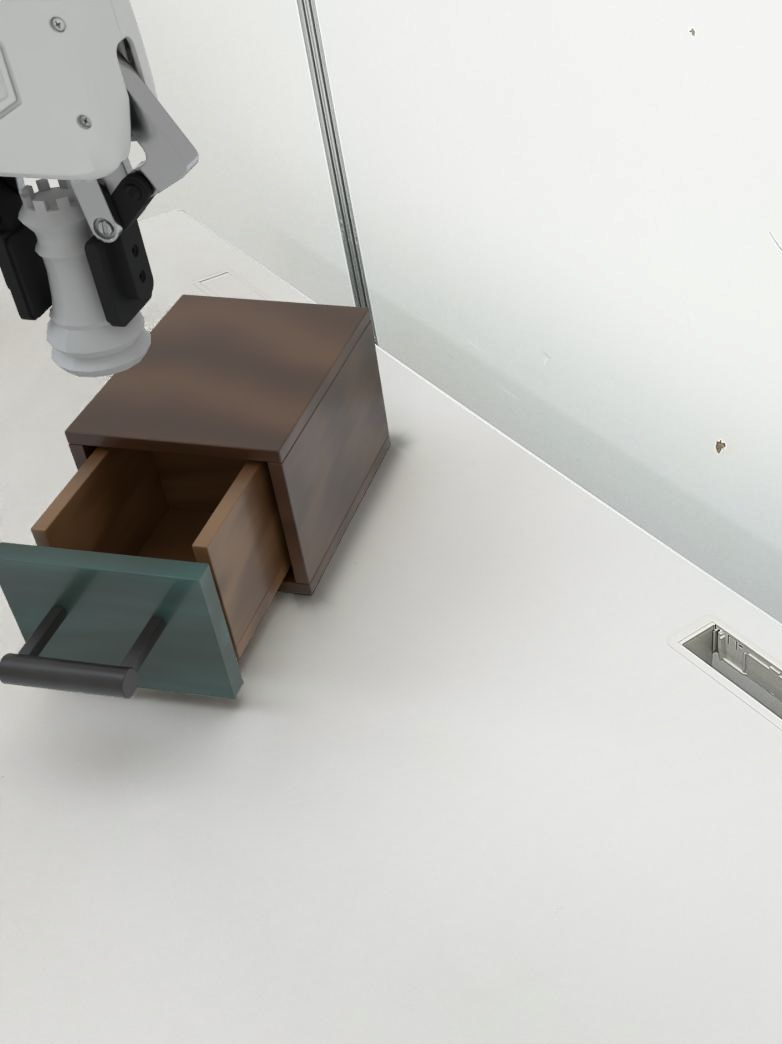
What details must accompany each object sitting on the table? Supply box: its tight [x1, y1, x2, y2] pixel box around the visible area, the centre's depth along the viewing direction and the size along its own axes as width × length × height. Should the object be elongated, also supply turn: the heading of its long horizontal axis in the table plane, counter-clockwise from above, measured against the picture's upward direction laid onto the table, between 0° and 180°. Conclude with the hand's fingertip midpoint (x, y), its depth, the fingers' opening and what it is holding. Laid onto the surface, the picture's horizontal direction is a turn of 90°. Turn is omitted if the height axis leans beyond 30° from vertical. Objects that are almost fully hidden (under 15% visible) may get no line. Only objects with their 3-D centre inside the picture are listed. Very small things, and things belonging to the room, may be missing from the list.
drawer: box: [0, 446, 292, 700], centre depth 64 cm, size 18×10×8 cm, turn 170°
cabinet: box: [64, 293, 391, 596], centre depth 72 cm, size 15×12×10 cm
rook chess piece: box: [18, 178, 151, 378], centre depth 56 cm, size 4×4×8 cm
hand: (87, 304), depth 57 cm, fingers closed on rook chess piece, 3 cm apart
